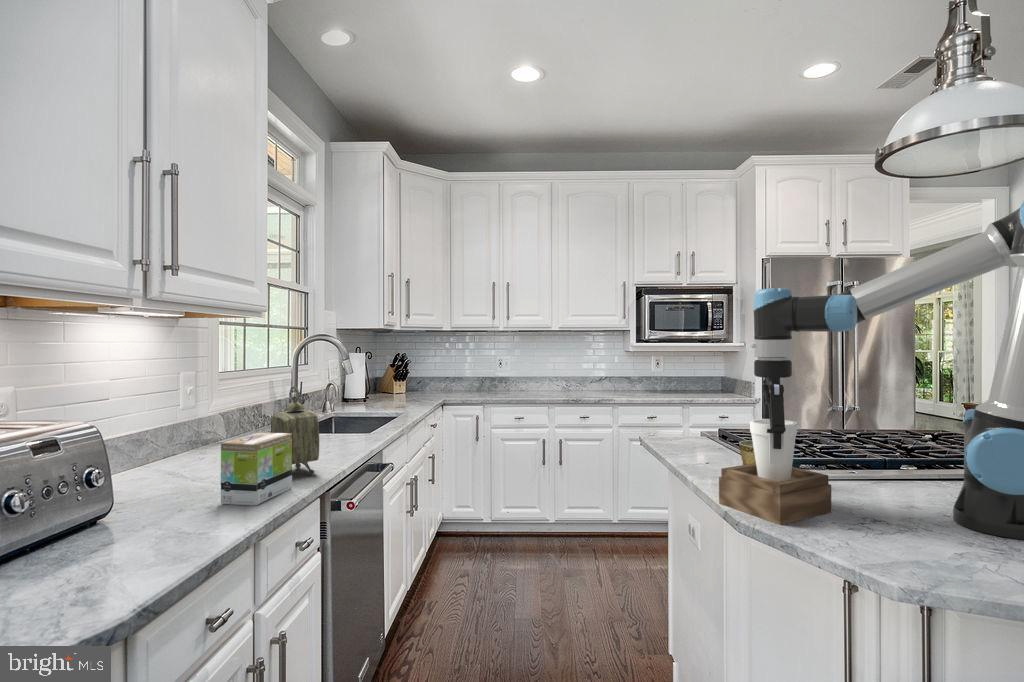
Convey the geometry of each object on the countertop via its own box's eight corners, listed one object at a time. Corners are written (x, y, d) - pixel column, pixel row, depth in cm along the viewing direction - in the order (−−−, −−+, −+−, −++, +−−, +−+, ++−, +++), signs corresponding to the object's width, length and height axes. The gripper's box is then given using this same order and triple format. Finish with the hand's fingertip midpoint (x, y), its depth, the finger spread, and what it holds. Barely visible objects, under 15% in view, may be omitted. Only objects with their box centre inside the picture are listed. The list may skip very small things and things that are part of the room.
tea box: (258, 506, 130) (257, 443, 130) (219, 505, 131) (218, 442, 131) (293, 488, 145) (292, 431, 144) (258, 487, 146) (257, 431, 146)
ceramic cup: (768, 490, 137) (768, 449, 137) (731, 481, 145) (731, 443, 145) (795, 481, 145) (795, 442, 144) (758, 473, 153) (758, 437, 152)
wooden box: (831, 512, 120) (831, 475, 120) (780, 524, 113) (780, 485, 113) (768, 493, 134) (767, 460, 134) (719, 503, 127) (718, 468, 127)
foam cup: (741, 478, 126) (740, 420, 126) (772, 473, 129) (771, 417, 129) (776, 488, 117) (775, 426, 117) (808, 483, 120) (806, 423, 120)
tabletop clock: (320, 475, 157) (318, 387, 156) (287, 481, 151) (285, 389, 151) (301, 466, 168) (300, 383, 167) (270, 471, 162) (268, 386, 162)
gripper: (750, 356, 135) (750, 445, 136) (759, 362, 113) (759, 469, 113) (784, 356, 133) (784, 447, 133) (800, 362, 110) (801, 471, 111)
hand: (773, 457), depth 123 cm, fingers open, 11 cm apart
